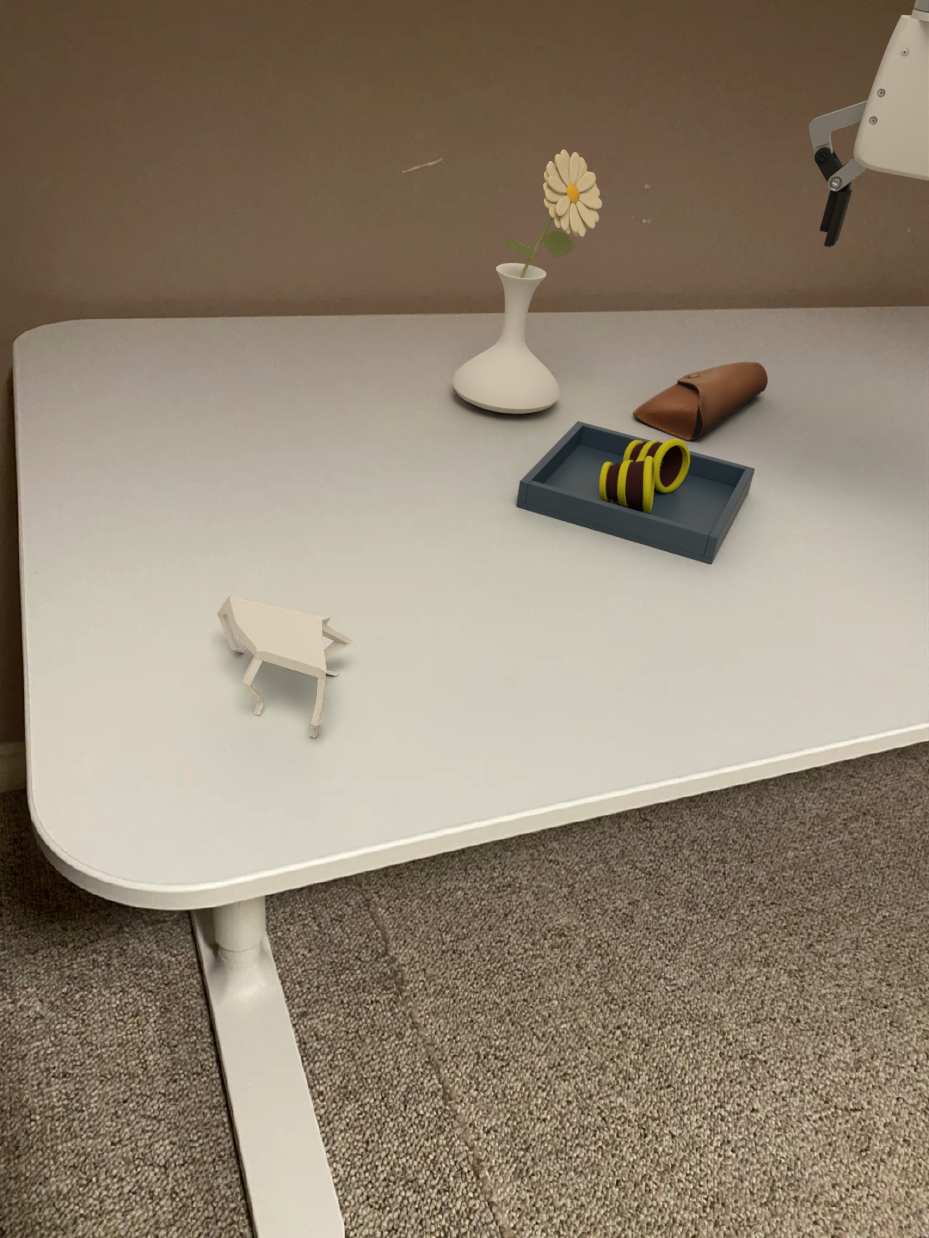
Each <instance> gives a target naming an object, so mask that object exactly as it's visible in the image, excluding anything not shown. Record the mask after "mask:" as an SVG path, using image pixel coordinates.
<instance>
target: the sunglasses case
mask: <svg viewBox="0 0 929 1238" xmlns="http://www.w3.org/2000/svg"><path fill="white" fill-rule="evenodd" d="M768 380H769V378H768V374H767V370H766V368H765V367H764V366H763V365H762V364H761V363H760V362H756V361H743V362H741V361H739V362H733V363H727V364H723V365H722V364H721V365H718V366H714V367H712V368H711V367H710V368H706V369H704V370H699V371H694V372H691V373H688V374H685V375H684V376H682V377H680V378H678V379H677V381H676V383H675V384H673V385H671V386H669V387H667V388H666V389H664V390H662V391H661V392H659V393H657V394H655V395H654V396H653V397H651V398H649V399H648V400H646V401H645V402H643V403H642V404H641V405H639V406H638V407H637V408H636V409H634V410H633V412H632V415H633V416H634V418H635V419H637V420H638V421H640V422H642V423H644V424H646V425H647V426H650V427H652V428H653V429H655V430H658V431H659V432H663V433H665V434H668V435H670V436H673V437H676V438H677V439H680V440H684V441H687V442H690V441H694V440H698V438H700V437H702V436H705V435H706V434H707V433H708V432H710V431H711V430H712V429H714V428H715V426H717V425H718V424H719V423H720V422H721V421H723V420H724V419H726V418H727V417H728V416H729V415H731V414H732V413H733V412H735V411H737V410H738V409H739V408H741V407H742V406H743V405H745V404H747V403H748V402H749V401H751V400H752V399H754V398H755V397H757V396H759V395H760V394H761V393H764V392H765V391H766V389H767V386H768V383H769V381H768Z"/></svg>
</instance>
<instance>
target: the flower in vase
mask: <svg viewBox="0 0 929 1238" xmlns="http://www.w3.org/2000/svg"><path fill="white" fill-rule="evenodd" d="M543 178H544V181H545V182H544V183H543V184H542V188H543V191H544V195H545V197H544V198H543V203H544V206H545V207H546V208H547V209H548V214H549V217H548V218H547V221H546V223H545V225H544V228H543V230H542V233H541V235H540V236H539V238H538V240H537V242H536V244H535V246H534V248H532V247H529V246H527V245H524V244H523V243H521V242H518V241H517V240H516V239H515V238H514V237H512V236H511V235H509V236H508V238H507V243H506V245H507V248H508V249H509V250H511V251H512V252H516V253H518V254H520V255H524V256H526V257H528V258H527V260H526V262H525V263H519V262H508V263H507V262H506V263H501V264H498V265H497V266H496V267H495V270H496V272H497V274H498V276H499V279H500V281H501V283H502V287H503V294H504V315H503V316H504V317H503V324H502V330H501V333H500V336H499V338H498V340H497V341H496V343H494V344H493V345H492V346H491V347H489V348H488V349H486V350H484V351H483V352H481V353H479V354H477V355H476V356H474V357H472V358H470V359H469V360H467V361H466V362H465V363H464V364H462V365H461V366H460V367H459V368H458V369H457V370H456V372H455V374H454V376H453V377H452V380H451V383H452V386H453V388H454V390H455V392H456V394H457V395H458V396H459V397H460V398H461V399H462V400H464V401H466V402H468V403H469V404H471V405H474V406H475V407H476V406H477V407H479V408H481V409H484V410H488V411H491V412H496V413H502V414H515V415H516V414H529V413H530V414H531V413H535V412H537V413H538V412H541V411H544V410H547V409H549V408H551V407H552V406H553V405H554V404H556V402H558V400H559V399H560V396H561V390H560V384H559V382H558V380H557V379H556V377H555V376H554V375H553V374H552V372H551V370H549V368H547V366H545V365H544V363H542V362H541V361H540V360H539V359H538V358H537V357H536V356H535V355H534V354H533V353H532V351H530V349H529V347H528V346H527V342H526V323H527V317H528V312H529V309H530V304H531V301H532V298H533V296H534V293H535V292H536V289H537V287H538V286H539V285H540V283H541V282H543V280H544V279H545V278H546V276H548V275H547V272H546V271H545V270H544V269H542V268H540V267H538V266H535V265H531V262H532V260H533V258H534V256H535V255H536V253H537V251H538V249H539V248H540V246H541V244H542V242H543V245H544V247H545V248H546V250H548V252H549V253H550V254H551V255H552V256H553V257H554V258H555V257H556V258H560V257H564V256H566V255H568V254H569V253H571V252H572V251H574V249H575V248H576V247H575V244H574V242H573V240H572V239H571V237H570V236H569V235H570V234H571V233H572V235H573V236H575V237H579V236H580V237H581V238H584V237H585V236H586V233H587V227H588V228H589V229H592V230H593V229H595V228H596V223H598V222H599V221H600V216H599V213H598V210H600V209H601V208H602V207H603V202H602V199H601V198H599V197H600V195H601V191H600V189H599V188H598V185H597V183H596V181H597V177H596V174H595V172H593V171H588V164H587V162H586V160H585V158H583V157H580V154H579V153H578V152H577V151H574V152H572V153H571V156H570V154H569V152H568V151H567V150H566V149H561V151H560V154H559V153H556V154H555V156H554V162H553V161H551V160H550V161H548V163H547V164H546V167H545V171H544V173H543ZM552 220H553V222H554V225H555V227H556V228H557V229H556V228H554V229H552V230H551V231H550V232H548V233H547V231H548V229H549V227H550V224H551V223H552ZM560 228H561V229H562V230H563V231H562V230H560Z"/></svg>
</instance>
